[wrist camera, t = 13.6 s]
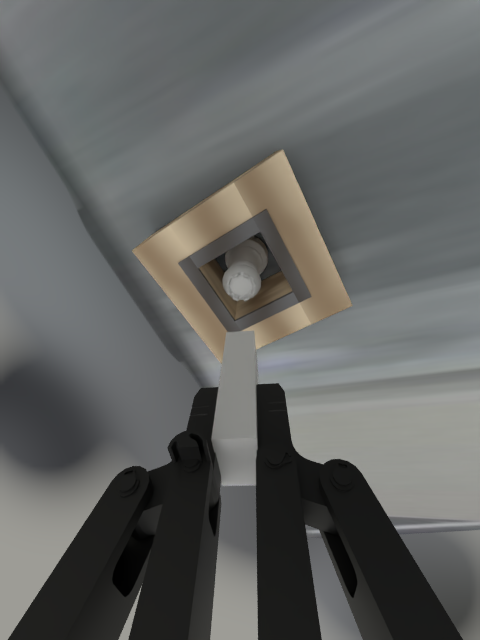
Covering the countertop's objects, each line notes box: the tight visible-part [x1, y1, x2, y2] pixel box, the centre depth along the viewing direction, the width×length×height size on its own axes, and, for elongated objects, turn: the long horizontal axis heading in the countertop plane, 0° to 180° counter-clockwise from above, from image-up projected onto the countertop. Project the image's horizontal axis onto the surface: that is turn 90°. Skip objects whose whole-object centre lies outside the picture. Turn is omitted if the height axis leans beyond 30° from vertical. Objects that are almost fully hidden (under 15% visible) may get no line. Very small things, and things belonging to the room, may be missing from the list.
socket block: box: [132, 150, 352, 364], centre depth 27 cm, size 14×14×6 cm
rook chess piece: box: [222, 236, 268, 301], centre depth 26 cm, size 4×4×8 cm
